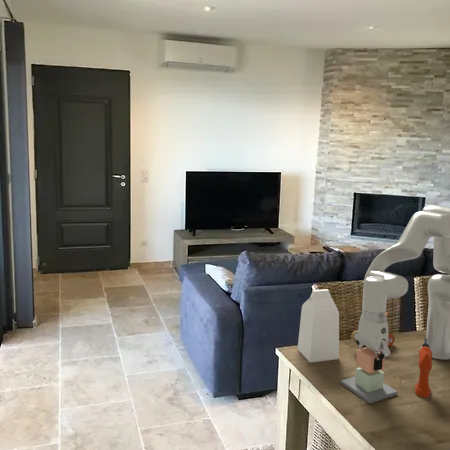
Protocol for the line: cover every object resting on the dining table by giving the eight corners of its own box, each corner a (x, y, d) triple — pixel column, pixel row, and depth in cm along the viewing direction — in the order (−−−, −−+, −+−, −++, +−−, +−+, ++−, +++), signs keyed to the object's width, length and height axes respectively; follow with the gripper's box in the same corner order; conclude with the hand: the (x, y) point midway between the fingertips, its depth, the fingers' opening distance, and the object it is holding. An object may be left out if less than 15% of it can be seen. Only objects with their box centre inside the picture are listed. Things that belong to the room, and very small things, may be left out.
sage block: (369, 379, 172) (370, 364, 171) (382, 388, 166) (384, 372, 165) (355, 383, 169) (356, 368, 168) (368, 392, 164) (369, 376, 162)
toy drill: (430, 369, 179) (433, 332, 175) (430, 401, 163) (434, 361, 158) (415, 366, 181) (419, 330, 176) (414, 398, 164) (418, 358, 160)
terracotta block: (370, 361, 171) (371, 345, 170) (384, 369, 165) (385, 353, 164) (355, 364, 168) (356, 349, 167) (369, 373, 162) (370, 357, 161)
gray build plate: (367, 376, 177) (367, 372, 177) (397, 394, 165) (397, 391, 164) (340, 383, 171) (341, 380, 171) (369, 403, 159) (369, 400, 159)
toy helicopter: (396, 344, 203) (399, 312, 200) (359, 355, 193) (361, 322, 190) (380, 337, 210) (383, 306, 207) (344, 347, 199) (346, 315, 197)
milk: (324, 346, 201) (328, 284, 196) (338, 358, 190) (342, 293, 185) (297, 349, 198) (299, 286, 193) (310, 362, 187) (313, 296, 182)
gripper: (402, 321, 157) (398, 374, 160) (364, 304, 172) (360, 352, 176) (384, 325, 154) (380, 379, 157) (347, 307, 169) (344, 356, 172)
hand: (370, 364), depth 166 cm, fingers closed on terracotta block, 6 cm apart
